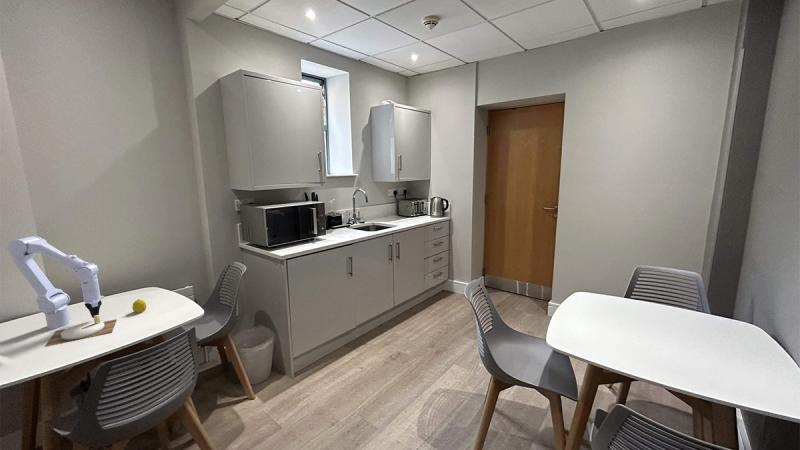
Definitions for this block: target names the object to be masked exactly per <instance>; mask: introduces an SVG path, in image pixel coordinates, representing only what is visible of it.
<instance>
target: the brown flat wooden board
mask: <svg viewBox="0 0 800 450" xmlns="http://www.w3.org/2000/svg"><path fill="white" fill-rule="evenodd" d="M117 320H118V319H117V318H115V319H112V320H106V321H102V322H103V323H104V326H105V327H104V329H103V330H102V331H100V332H98V333H96V334H94V335H91V336H88V337H84V338H80V339H74V340H64V339H62V338H61V332H63V331H64V330H66V329H67V328H63V329H60V330H55V331H54V333H53V334H52V336H50V338H49V339H48V341H47V343H45V345H44V348H46V347H47V348H48V347H51V346H52V347H53V346H55V345H61V344H65V343H70V342H71V343H72V342H76V341H81V340H84V339H89V338H94V337H95V338H96V337H99V336H106V335H108V334H110V335H111V334H113V331H114V328H115V326H116V324H117Z"/></svg>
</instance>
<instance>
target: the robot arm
mask: <svg viewBox="0 0 800 450" xmlns="http://www.w3.org/2000/svg"><path fill="white" fill-rule="evenodd" d="M6 249H7V251H8V252H9V254H10V255H11V256H10V257H11V260H12V262H13V264H14V265H15V266H16V268H17V269H18V270H19V272H20V273H21V274H22V275H23V277H24V278H25V280H26V281H27V282H28V283H29V284H30V286H32V287H31V288H33V290H34V291H35V292H36V293H37V295H38V296H37V297H36V299H35V302H36V303H37V306H38V307H37V308H38V310H39V311H40V312H42V314H43V315H44V317H45V322H46V327H47V329H48V330H52V329H54V330H55V329H59V328H62V327H65V326H68V325H69V324H71V323H70V321H71V314H70V309H69V308H68V306H69V305H68V304H70V302H71V297H70V296H69V294H68V293H65V292H64V291H63V290H62V289H61V288H56V287H55V286H54V285H53V284H52V282H51V281H50V280H49V279H48V277H47V276H46V275H45V274H44V272H43V271H42V269H41V268H40V267H39V265H38V263H36V261H35V260H34V257H35V255H36V254H38V253H40V254H42V255H44V256H47V257H49V258H52V259H54V260H57V261H58V262H59V263H60V266H62V267H63V268H66V269H67V270H69V271H72V272H73V273H75V276H76V277H77V278H78V279H79V282H80V284H81V290H82V291H81V292H82V297H83V303H84V306H85V307H86V309H87V310H88V311H89V313H90V315H91V318H92V319H94V317H93V316H95V315H99V316H100V308H101V307H102V306H101V305H102V303H103V301H102V299H105V296H104V295H101V292H100V291H101V289H100V284H99V279H98V278H99V277H98V274H99V272H100V267H99V265H98V264H97V263H94V262H88V261H85V260H84V259H81V258H79V257H78V256H77V255H76V254H66V253H64V252H63V251H61V250H59V249H58V248H56V247H55V246H53V245H51V244H50V243H48V242H47V240H46V239H44V238H42V237H40V236H38V235H30V236H26V237H22V238H18V239H12V240H11V241H10V242H9V243H8V245H7V247H6Z"/></svg>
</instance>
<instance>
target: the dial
mask: <svg viewBox="0 0 800 450" xmlns="http://www.w3.org/2000/svg"><path fill="white" fill-rule="evenodd" d="M93 317H94V318H93V321H88V322H82V323H80V324H79V323H78V324H76V325H72V326H70V327H67V328H65V329H66V330H64V331H63V332H61V338H62V339H64V340H74V339H80V338H84V337H88V336H91V335H94V334H96V333H98V332H100V331H102V330H103V329H104V327H105V326H104V323H103V322H104V321H101V317H100V314H99V315H95V316H93Z"/></svg>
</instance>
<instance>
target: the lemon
mask: <svg viewBox="0 0 800 450" xmlns="http://www.w3.org/2000/svg"><path fill="white" fill-rule="evenodd" d="M146 309H147V303H146V302H145V300H143V299H139V298H138V299H136V300H135V301H134V302H133V303H132V311H133V312H134V313H135V314H140V313H141V314H143V313H144V312H145V311H146Z"/></svg>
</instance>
